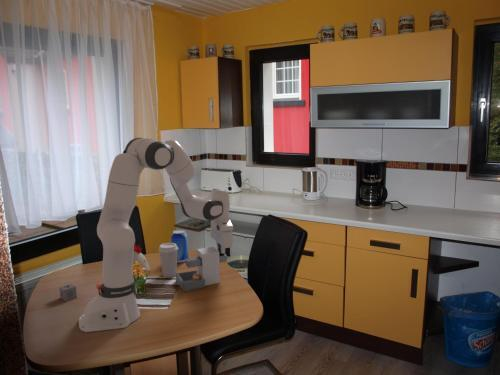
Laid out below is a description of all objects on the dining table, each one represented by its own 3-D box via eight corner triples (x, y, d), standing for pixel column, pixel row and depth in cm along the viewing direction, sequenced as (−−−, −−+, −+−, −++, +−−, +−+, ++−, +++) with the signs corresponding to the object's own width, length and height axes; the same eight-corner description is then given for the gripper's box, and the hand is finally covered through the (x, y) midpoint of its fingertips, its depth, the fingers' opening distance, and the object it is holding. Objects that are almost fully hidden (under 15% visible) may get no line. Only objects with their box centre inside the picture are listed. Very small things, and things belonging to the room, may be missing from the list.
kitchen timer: (142, 280, 200) (140, 249, 197) (115, 278, 203) (113, 248, 200) (154, 269, 213) (152, 241, 211) (129, 267, 216) (127, 239, 213)
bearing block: (203, 285, 192) (202, 254, 189) (198, 279, 199) (197, 249, 196) (220, 282, 195) (219, 251, 192) (214, 276, 202) (213, 246, 200)
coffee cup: (183, 273, 207) (182, 244, 204) (170, 280, 199) (168, 249, 197) (169, 269, 212) (167, 241, 210) (155, 276, 204) (153, 246, 202)
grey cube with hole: (71, 294, 185) (70, 283, 184) (76, 297, 182) (75, 286, 181) (60, 298, 182) (59, 287, 181) (65, 301, 178) (64, 290, 177)
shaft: (188, 267, 190) (187, 249, 188) (185, 264, 193) (185, 247, 192) (226, 261, 197) (226, 244, 195) (223, 258, 201) (223, 241, 199)
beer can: (170, 262, 222) (168, 233, 220) (175, 257, 231) (174, 229, 228) (185, 263, 221) (184, 234, 218) (190, 258, 229) (189, 229, 226)
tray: (183, 291, 186) (183, 283, 185) (176, 281, 197) (175, 273, 197) (205, 287, 190) (204, 279, 189) (196, 277, 201) (196, 269, 201)
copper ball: (201, 274, 193) (202, 282, 194) (198, 271, 196) (199, 279, 197) (192, 276, 191) (193, 284, 192) (190, 273, 195) (191, 281, 196)
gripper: (207, 218, 203) (207, 246, 205) (221, 229, 185) (222, 259, 187) (219, 217, 205) (220, 244, 208) (234, 227, 187) (235, 257, 189)
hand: (221, 251), depth 197 cm, fingers closed on shaft, 3 cm apart
